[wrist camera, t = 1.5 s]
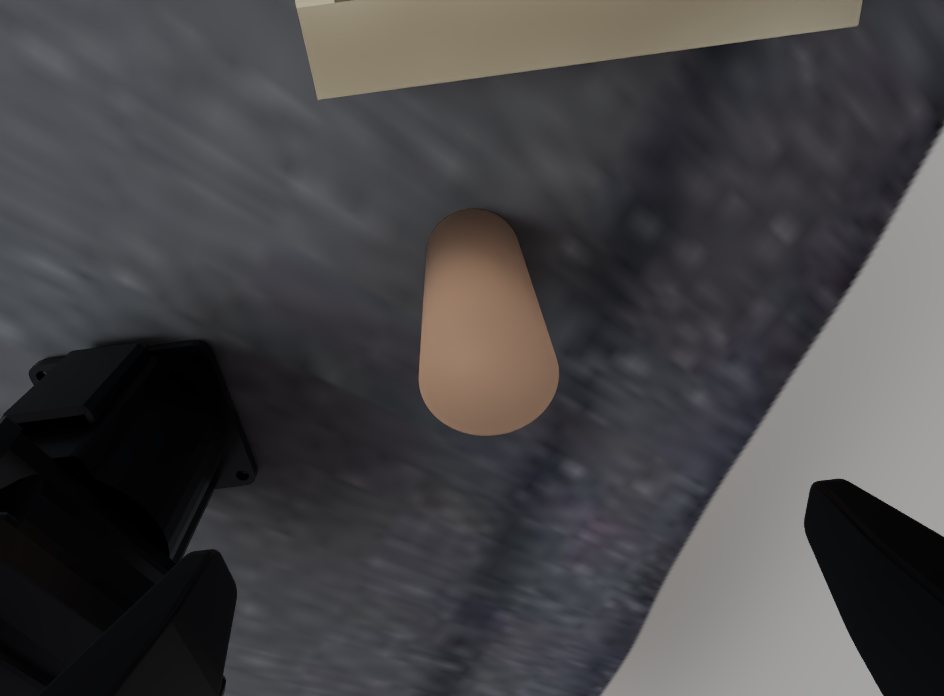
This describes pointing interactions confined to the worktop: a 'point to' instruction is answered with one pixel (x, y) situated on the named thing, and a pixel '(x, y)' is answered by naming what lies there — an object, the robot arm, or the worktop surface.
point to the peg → (482, 329)
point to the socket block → (528, 34)
